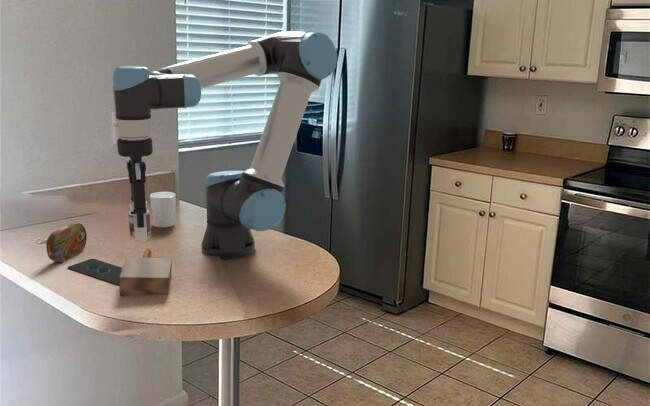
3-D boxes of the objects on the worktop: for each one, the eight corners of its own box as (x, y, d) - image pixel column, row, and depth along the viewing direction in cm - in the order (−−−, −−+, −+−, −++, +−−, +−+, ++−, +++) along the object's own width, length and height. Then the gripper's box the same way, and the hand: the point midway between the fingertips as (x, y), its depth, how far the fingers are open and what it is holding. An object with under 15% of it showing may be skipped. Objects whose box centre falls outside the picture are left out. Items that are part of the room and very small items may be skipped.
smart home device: (92, 257, 164) (144, 273, 154) (93, 263, 165) (144, 280, 155) (65, 266, 157) (118, 284, 147) (66, 272, 158) (118, 291, 148)
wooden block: (171, 276, 154) (171, 258, 153) (168, 296, 144) (168, 277, 142) (126, 275, 152) (125, 257, 150) (119, 296, 142) (119, 277, 140)
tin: (56, 266, 161) (53, 236, 159) (45, 265, 161) (42, 235, 159) (88, 247, 175) (86, 219, 173) (78, 246, 176) (76, 218, 173)
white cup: (151, 221, 200) (149, 192, 197) (175, 220, 202) (174, 191, 200) (152, 229, 193) (150, 198, 190) (177, 227, 195) (176, 197, 192)
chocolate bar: (152, 253, 173) (152, 246, 172) (149, 269, 162) (148, 261, 161) (143, 253, 172) (142, 246, 172) (138, 269, 161) (138, 261, 160)
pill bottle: (143, 232, 146) (141, 198, 144) (155, 237, 143) (153, 202, 141) (125, 237, 142) (123, 202, 140) (137, 242, 139) (135, 206, 137)
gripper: (115, 131, 143) (122, 226, 149) (118, 144, 127) (125, 250, 133) (148, 130, 146) (153, 223, 152) (155, 143, 129) (160, 247, 136)
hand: (140, 236), depth 142 cm, fingers closed on pill bottle, 5 cm apart
